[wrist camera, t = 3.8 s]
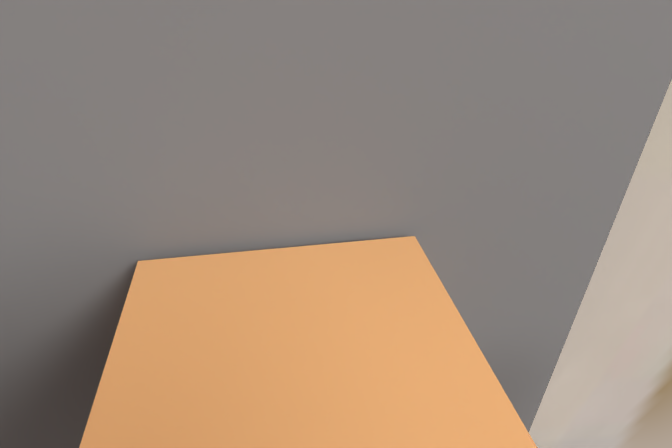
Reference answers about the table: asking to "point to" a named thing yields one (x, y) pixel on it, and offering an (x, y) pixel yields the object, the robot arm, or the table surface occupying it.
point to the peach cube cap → (298, 356)
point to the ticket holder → (310, 161)
